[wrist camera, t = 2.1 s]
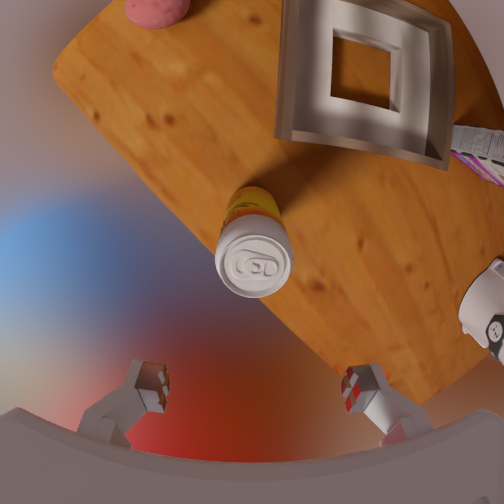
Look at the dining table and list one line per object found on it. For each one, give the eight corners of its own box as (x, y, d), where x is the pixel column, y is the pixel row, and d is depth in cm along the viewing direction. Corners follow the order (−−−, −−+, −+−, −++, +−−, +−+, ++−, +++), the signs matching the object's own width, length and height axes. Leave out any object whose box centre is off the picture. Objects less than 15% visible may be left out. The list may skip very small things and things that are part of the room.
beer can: (230, 181, 32) (217, 224, 18) (280, 189, 32) (304, 236, 19) (224, 228, 35) (210, 296, 21) (271, 234, 35) (286, 305, 22)
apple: (152, -9, 20) (130, -34, 13) (204, -6, 21) (193, -36, 14) (131, 35, 23) (103, 17, 16) (184, 40, 24) (166, 17, 17)
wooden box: (421, 34, 22) (450, 24, 15) (416, 161, 30) (447, 171, 24) (282, -6, 21) (290, -31, 15) (273, 137, 30) (280, 139, 23)
